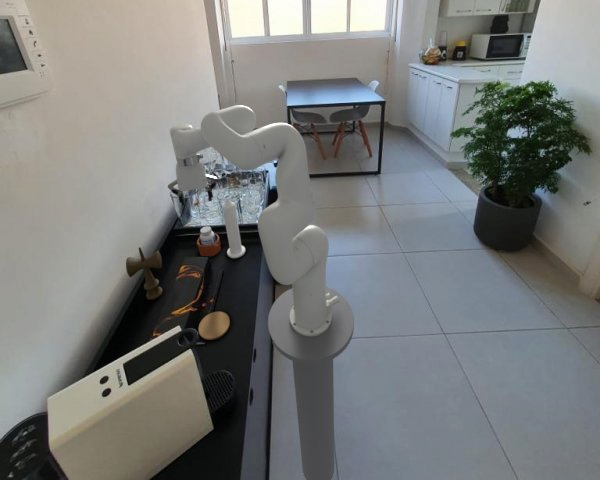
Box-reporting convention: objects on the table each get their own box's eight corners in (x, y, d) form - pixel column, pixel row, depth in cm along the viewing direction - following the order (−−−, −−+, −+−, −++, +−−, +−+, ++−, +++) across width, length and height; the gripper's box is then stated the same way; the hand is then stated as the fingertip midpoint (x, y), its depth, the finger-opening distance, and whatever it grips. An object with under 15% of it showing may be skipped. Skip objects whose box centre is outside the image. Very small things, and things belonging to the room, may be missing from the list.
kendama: (140, 292, 105) (123, 245, 97) (170, 284, 108) (156, 237, 100) (138, 306, 100) (120, 257, 92) (169, 297, 102) (155, 249, 94)
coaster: (223, 307, 97) (223, 306, 97) (234, 329, 90) (234, 327, 90) (195, 322, 93) (194, 320, 93) (203, 346, 86) (203, 344, 86)
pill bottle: (210, 243, 127) (206, 223, 123) (220, 247, 124) (216, 227, 120) (200, 251, 122) (195, 231, 118) (209, 255, 120) (205, 235, 116)
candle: (228, 247, 124) (218, 193, 114) (245, 245, 125) (237, 191, 114) (226, 259, 118) (215, 203, 107) (245, 257, 118) (236, 201, 108)
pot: (217, 240, 129) (215, 230, 127) (223, 251, 122) (222, 241, 120) (196, 248, 125) (194, 238, 123) (202, 260, 118) (200, 249, 116)
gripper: (213, 152, 113) (220, 192, 120) (163, 159, 110) (174, 200, 117) (213, 160, 107) (220, 202, 114) (160, 167, 103) (171, 211, 110)
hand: (197, 201), depth 115 cm, fingers open, 9 cm apart
